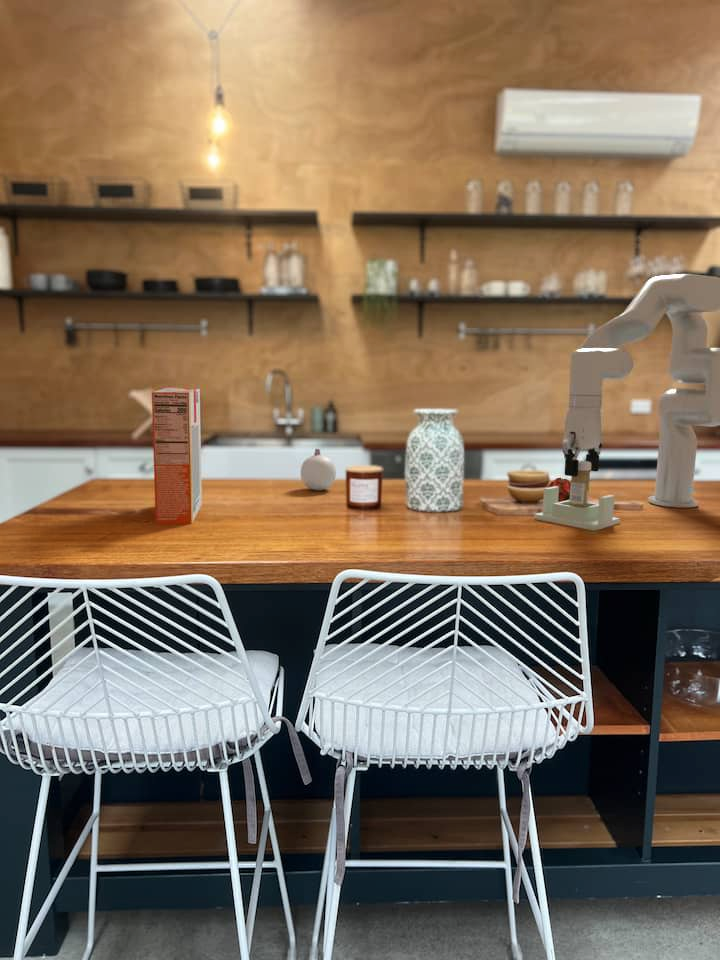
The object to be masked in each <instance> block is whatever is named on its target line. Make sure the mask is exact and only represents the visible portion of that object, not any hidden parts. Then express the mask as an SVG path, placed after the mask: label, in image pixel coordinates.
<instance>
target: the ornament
mask: <svg viewBox="0 0 720 960" xmlns="http://www.w3.org/2000/svg"><path fill="white" fill-rule="evenodd" d="M336 474H337V470H336V465H335V464H334V461H332V459H330V458H329V457H328V456H325V455H322V454H321V451H320V448H315V449H314V455H311V456H309V457H306V459H305V460H304V461H303V463H302V465H301V467H300V479H301V482H302V483H303V484H304V486H305V487H307V488H308V489H310V490H313V491H324V490H327V489H328V488H330V487H331V486H332V485H333V484H334V483H335V479H336V476H337V475H336Z"/></svg>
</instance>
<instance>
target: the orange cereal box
mask: <svg viewBox="0 0 720 960" xmlns="http://www.w3.org/2000/svg"><path fill="white" fill-rule="evenodd" d="M200 393H201V391H200V388H199V387H195V388H194V387H190V388H189V387H166V388H162V389H159V390H155V391H153V392H151V407H152V408H151V412H152V414H151V415H152V418H151V419H152V442H153V443H152V449H153V475H154V476H153V478H154V480H153V482H154V509H155V511H154V513H155V514H154V515H155V516H154V517H155V525H192V523H193V522H194V520H195V519H196V516H197V514H198V512H199V510H200V508H201V507H202V505H203V494H202V492H203V489H202V444H201V443H202V440H201V439H202V438H201V432H202V431H201V399H200V398H201V394H200Z"/></svg>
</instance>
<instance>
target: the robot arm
mask: <svg viewBox="0 0 720 960" xmlns="http://www.w3.org/2000/svg"><path fill="white" fill-rule="evenodd" d="M719 310H720V277H718V276H711V275H710V276H709V275H704V274H703V275H701V274H694V273H680V274H669V275H666V274H665V275H658V276H654V277H652V278H650V279H647V281H646V282H645V283H644V284H643V286H642V287H641V288H640V290H639V291H638V292H637V293H636V295H635V296H634V298H633V299H632V301H631V302H630V303H629V305H628V306H626V308H625V310H624V311H623V312H622V313H621V314H620V315H618V316H616V317H614V318H612V319H611V320H609V321H608V322H606V323H604V324H603V325H601V326H599V327H598V328H597V329H595V330H594V331H592V332H591V333H590V334H589V335H588V336H587V337H586V338H585V340H584V341H583V342H582V343H581V345H580V346H579V348H578V349H576V350H573V352H571V355H570V366H569V367H570V368H569V390H568V393H569V394H568V408H567V413H566V415H565V416H566V417H565V421H564V428H563V429H564V430H563V441H562V442H561V446H562V453H563V457H564V460H565V461H564V462H565V463H564V475H565V476H567V477H572V476H574V477H576V476H578V462H579V461H580V460H579V459H578V457H579V455H580V453H581V452H584V451H587V453H586V454H585V461H588V462H591V470H590V472H598V471H599V470H600V469H599V468H600V467H599V466H600V455H601V449H602V447H603V446H602V445H603V444H602V443H603V441H604V435H603V434H602V415H601V414H602V412H601V410H602V407H603V406H602V405H603V403H602V402H603V385H604V380H605V381H619V380H622V379H625V378H626V377H628V376H629V375H630V374H631V372H632V371H633V369H634V357H633V356H632V354H631V353H630V352H629V351H627V350H625V349H623V348H619V347H622V346H625V345H629V344H632V343H636V342H638V341H640V340H643V339H645V338H646V337H649V336H650V335H651V334H652V333H653V331H654V330H655V329H656V327H657V326H658V324H659V323H660V321H661V320H662V319H663V317H664V316H665V315H666V316H667V318H668V319H669V321H670V323H671V326H672V339H671V340H672V341H671V349H670V357H669V367H668V372H669V373H668V375H669V378H670V379H671V380H672V381H673V382H675V383H680V384H688V385H705V389H698V388H697V389H696V388H672V389H669V390H668V389H667V390H666V391H665V392H664V393H662V394H661V396H660V397H659V400H658V402H657V403H658V404H657V405H658V406H657V409H658V411H657V412H658V419H659V438H658V440H659V441H658V443H659V444H658V453H657V461H656V462H657V464H656V475H655V476H656V477H655V487H654V495H651V496H648V499H647V501H648V503H650V504H653V505H656V506H660V507H661V506H662V507H668V508H678V509H679V508H681V509H684V508H685V509H687V508H695V507H697V506H698V504H699V501H698V500H697V499H694V498H693V494H695V492H696V489H695V487H694V480H695V478H694V477H695V468H696V459H697V451H698V450H697V449H698V439H697V435H696V433H695V431H694V429H693V427H692V426H698V427H718V426H720V347H708V346H707V344H708V343H707V342H708V334H709V332H708V330H709V329H708V325H707V322H706V321H705V318H704V317H703V316H702V315H701V313H711V312H716V311H719Z"/></svg>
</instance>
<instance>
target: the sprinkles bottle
mask: <svg viewBox="0 0 720 960" xmlns="http://www.w3.org/2000/svg"><path fill="white" fill-rule="evenodd" d="M590 470H591V462H588V461H586V460H579V462H578V476H576V477H574V476H570V477H571V478H570V482H571V487H570V506H574V507H580V508H585V507H588V502H589V495H590V481H591V480H590V478H591V476H590V475H591V471H590Z"/></svg>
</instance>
